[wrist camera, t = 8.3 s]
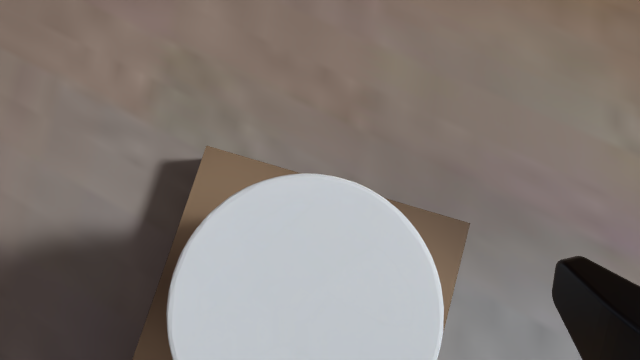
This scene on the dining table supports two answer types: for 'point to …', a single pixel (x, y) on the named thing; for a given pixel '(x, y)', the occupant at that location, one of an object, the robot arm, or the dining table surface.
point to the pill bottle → (305, 278)
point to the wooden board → (240, 172)
